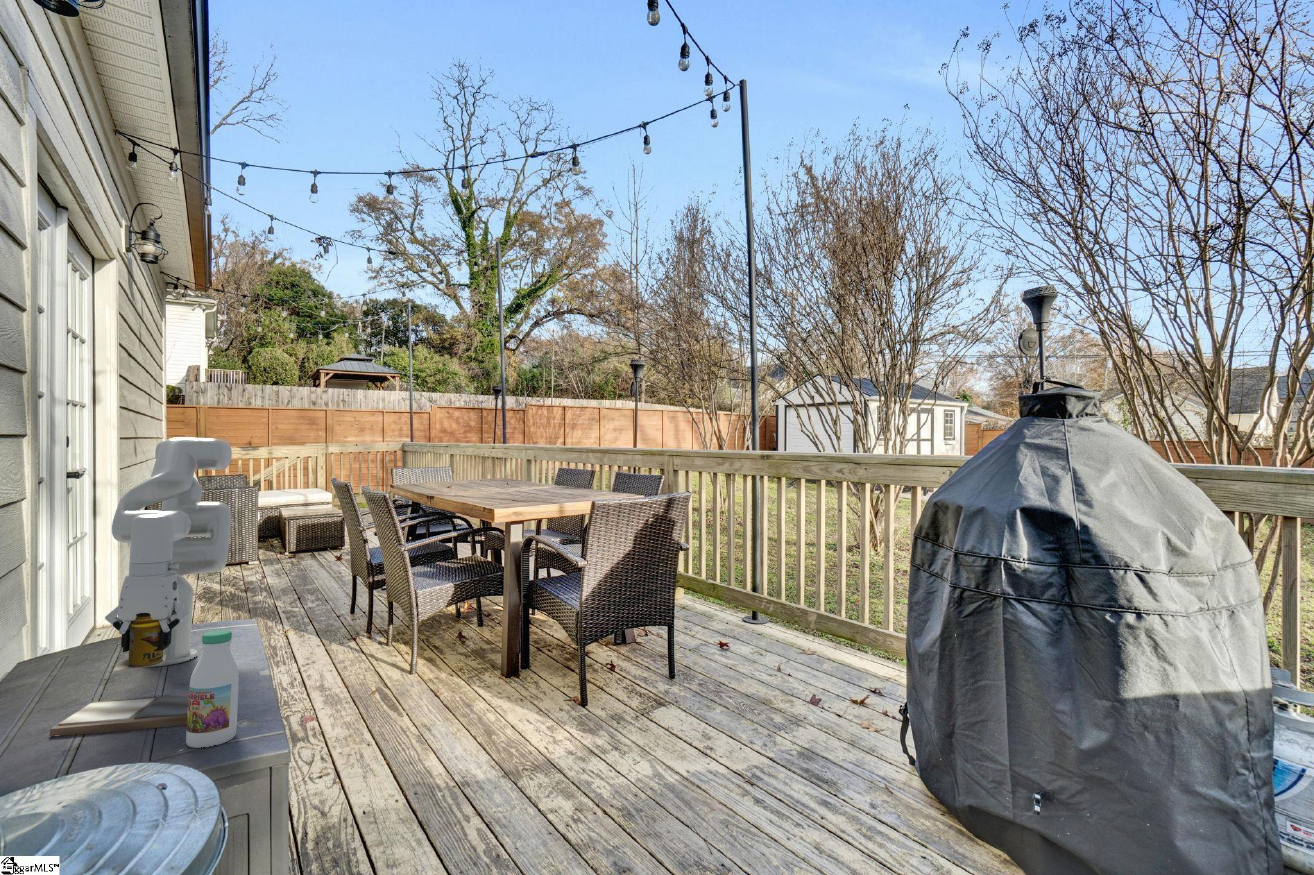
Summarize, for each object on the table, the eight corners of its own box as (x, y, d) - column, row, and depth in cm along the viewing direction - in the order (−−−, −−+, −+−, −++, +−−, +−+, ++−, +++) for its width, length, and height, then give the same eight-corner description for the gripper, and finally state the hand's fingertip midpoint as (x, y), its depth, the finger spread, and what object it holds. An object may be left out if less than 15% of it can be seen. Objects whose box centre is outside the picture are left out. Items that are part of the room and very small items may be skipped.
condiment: (162, 665, 138) (165, 611, 139) (112, 671, 134) (115, 616, 134) (166, 655, 144) (169, 604, 145) (118, 661, 140) (121, 608, 140)
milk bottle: (202, 731, 120) (208, 627, 121) (244, 731, 121) (250, 627, 122) (175, 749, 112) (182, 637, 113) (220, 748, 113) (226, 637, 114)
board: (91, 709, 130) (92, 700, 130) (224, 698, 137) (225, 690, 137) (49, 737, 116) (50, 727, 116) (199, 723, 124) (199, 714, 124)
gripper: (202, 565, 146) (197, 642, 146) (113, 566, 141) (108, 646, 140) (188, 571, 139) (184, 652, 138) (94, 573, 134) (89, 657, 133)
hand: (146, 648), depth 139 cm, fingers closed on condiment, 6 cm apart
